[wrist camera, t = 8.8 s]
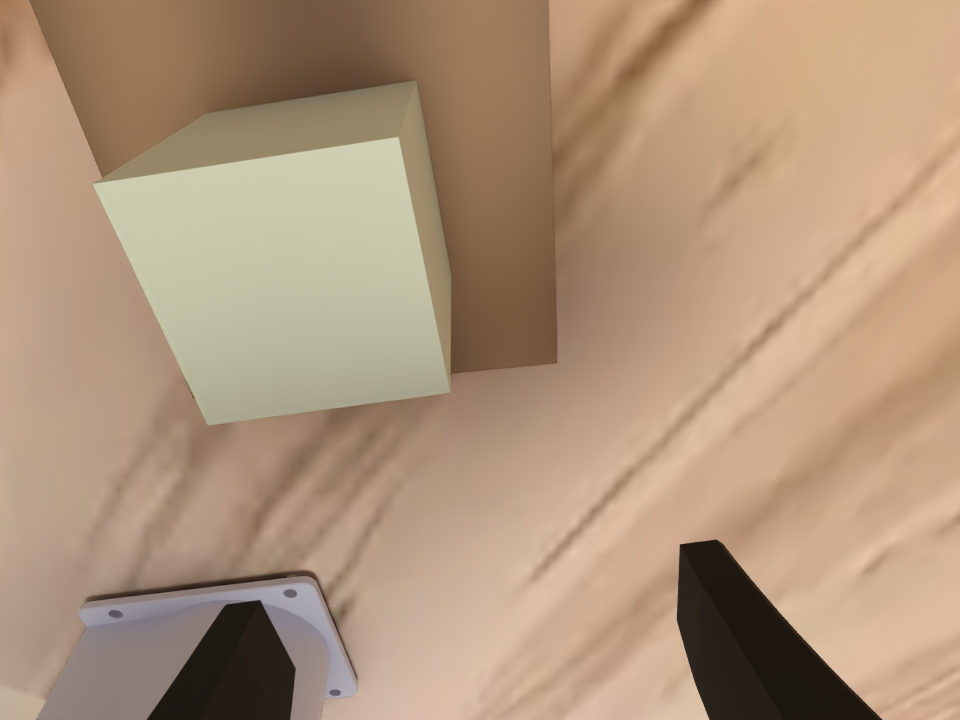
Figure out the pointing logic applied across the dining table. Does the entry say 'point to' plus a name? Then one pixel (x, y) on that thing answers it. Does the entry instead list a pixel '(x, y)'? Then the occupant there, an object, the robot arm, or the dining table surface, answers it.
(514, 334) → the walnut block
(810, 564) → the dining table surface
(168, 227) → the sage cube
